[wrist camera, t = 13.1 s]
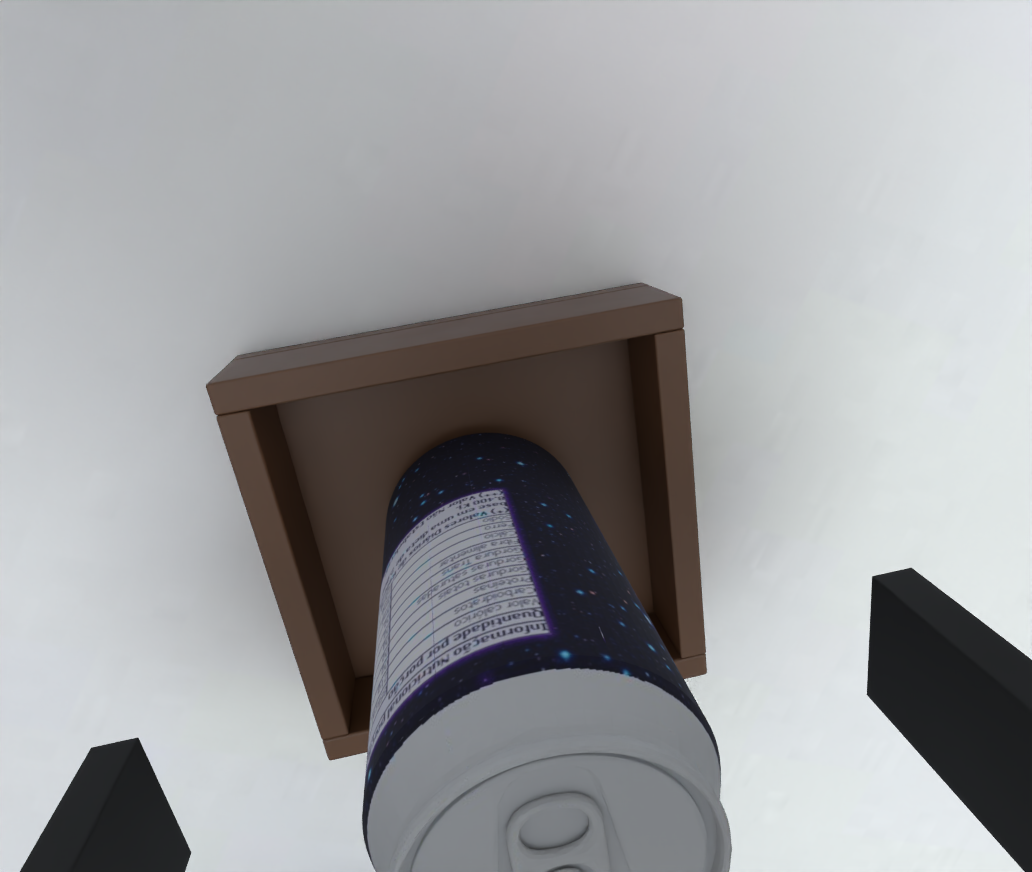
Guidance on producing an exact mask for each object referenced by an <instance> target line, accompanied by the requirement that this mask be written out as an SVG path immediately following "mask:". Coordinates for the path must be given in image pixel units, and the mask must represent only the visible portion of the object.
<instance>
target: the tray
mask: <svg viewBox="0 0 1032 872" xmlns="http://www.w3.org/2000/svg"><path fill="white" fill-rule="evenodd" d="M683 327H684V322H683V307H682V299H681V297H678V296H675V295H673V294H670V293H667V292H665V291H662V290H659V289H657V288H654V287H652V286H649V285H647V284H644V283H638V284H632V285H627V286H621V287H615V288H610V289H604V290H599V291H593V292H588V293H582V294H577V295H571V296H565V297H560V298H554V299H549V300H543V301H538V302H532V303H527V304H521V305H516V306H510V307H504V308H499V309H493V310H488V311H482V312H477V313H471V314H466V315H460V316H454V317H449V318H443V319H438V320H432V321H427V322H421V323H416V324H410V325H405V326H399V327H393V328H388V329H382V330H377V331H371V332H366V333H360V334H355V335H349V336H343V337H338V338H332V339H327V340H321V341H316V342H310V343H305V344H299V345H293V346H288V347H282V348H277V349H271V350H266V351H260V352H255V353H249V354H244V355H238V356H237V357H236V358H235V359H233V361H232V362H230V363H229V364H228V365H227V366H226V367H225V368H224V369H223V370H222V371H221V372H219V373H218V374H217V375H216V376H215V377H214V378H213V379H212V380H211V381H210V382H209V383H207V384H206V388H207V391H208V394H209V397H210V400H211V403H212V406H213V410H214V413H215V414H216V415H218V416H217V422H218V425H219V428H220V431H221V434H222V437H223V440H224V443H225V446H226V449H227V452H228V455H229V458H230V461H231V464H232V467H233V470H234V473H235V476H236V479H237V482H238V486H239V489H240V492H241V495H242V498H243V501H244V504H245V507H246V510H247V513H248V516H249V519H250V522H251V525H252V528H253V531H254V534H255V537H256V540H257V543H258V546H259V549H260V552H261V555H262V559H263V562H264V565H265V568H266V571H267V574H268V577H269V580H270V583H271V586H272V589H273V592H274V595H275V598H276V601H277V604H278V607H279V610H280V613H281V616H282V619H283V622H284V625H285V628H286V631H287V635H288V638H289V641H290V644H291V647H292V650H293V653H294V656H295V659H296V662H297V665H298V668H299V671H300V674H301V677H302V680H303V683H304V686H305V689H306V692H307V695H308V698H309V701H310V704H311V708H312V711H313V714H314V717H315V720H316V723H317V726H318V729H319V732H320V735H321V738H322V739H323V743H324V746H325V750H326V753H327V756H328V758H329V760H335V759H339V758H343V757H348V756H352V755H356V754H361V753H365V752H368V739H369V727H370V714H371V702H372V690H373V677H374V665H375V653H376V640H377V628H378V616H379V603H380V591H381V579H382V566H383V554H384V542H385V529H386V517H387V511H388V506H389V502H390V499H391V496H392V494H393V492H394V489H395V487H396V486H397V484H398V482H399V480H400V479H401V477H402V476H403V475H404V473H405V472H406V471H407V470H408V468H409V467H410V466H411V465H412V464H413V463H414V462H415V461H416V460H417V459H419V458H420V457H421V456H422V455H424V454H425V453H426V452H428V451H429V450H431V449H432V448H434V447H436V446H438V445H440V444H442V443H444V442H446V441H448V440H451V439H454V438H457V437H460V436H465V435H469V434H476V433H502V434H508V435H513V436H517V437H520V438H523V439H526V440H528V441H531V442H533V443H535V444H537V445H538V446H540V447H542V448H543V449H545V450H546V451H548V452H549V453H550V454H551V455H553V456H554V457H555V458H556V459H557V460H558V461H559V462H560V463H561V464H562V466H563V467H564V468H565V469H566V471H567V472H568V474H569V475H570V477H571V479H572V481H573V483H574V484H575V486H576V488H577V490H578V491H579V493H580V495H581V497H582V499H583V500H584V502H585V504H586V506H587V508H588V509H589V511H590V513H591V515H592V516H593V518H594V520H595V522H596V524H597V525H598V527H599V529H600V531H601V533H602V534H603V536H604V538H605V540H606V541H607V543H608V545H609V547H610V549H611V550H612V552H613V554H614V556H615V558H616V559H617V561H618V563H619V565H620V566H621V568H622V570H623V572H624V574H625V575H626V577H627V579H628V581H629V583H630V584H631V586H632V588H633V590H634V591H635V593H636V595H637V597H638V599H639V600H640V602H641V604H642V606H643V607H644V609H645V611H646V613H647V615H648V616H649V618H650V620H651V622H652V624H653V625H654V627H655V629H656V631H657V632H658V634H659V636H660V638H661V640H662V641H663V643H664V645H665V647H666V649H667V650H668V652H669V654H670V656H671V657H672V659H673V661H674V663H675V665H676V666H677V668H678V670H679V672H680V674H681V675H682V677H683V679H686V678H691V677H695V676H700V675H704V674H706V673H707V668H706V654H705V653H706V647H705V632H704V617H703V602H702V587H701V572H700V557H699V543H698V528H697V513H696V498H695V483H694V468H693V453H692V438H691V423H690V408H689V393H688V378H687V363H686V348H685V333H684V329H682V328H683Z"/></svg>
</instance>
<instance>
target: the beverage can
mask: <svg viewBox="0 0 1032 872" xmlns="http://www.w3.org/2000/svg"><path fill="white" fill-rule="evenodd" d="M720 788H721V767H720V757H719V751H718V747H717V743H716V740H715V737H714V734H713V732H712V730H711V727H710V725H709V724H708V722H707V720H706V718H705V716H704V715H703V713H702V711H701V709H700V707H699V706H698V704H697V702H696V700H695V699H694V697H693V695H692V693H691V691H690V690H689V688H688V686H687V684H686V682H685V681H684V679H683V677H682V675H681V674H680V672H679V670H678V668H677V666H676V665H675V663H674V661H673V659H672V657H671V656H670V654H669V652H668V650H667V649H666V647H665V645H664V643H663V641H662V640H661V638H660V636H659V634H658V632H657V631H656V629H655V627H654V625H653V624H652V622H651V620H650V618H649V616H648V615H647V613H646V611H645V609H644V607H643V606H642V604H641V602H640V600H639V599H638V597H637V595H636V593H635V591H634V590H633V588H632V586H631V584H630V583H629V581H628V579H627V577H626V575H625V574H624V572H623V570H622V568H621V566H620V565H619V563H618V561H617V559H616V558H615V556H614V554H613V552H612V550H611V549H610V547H609V545H608V543H607V541H606V540H605V538H604V536H603V534H602V533H601V531H600V529H599V527H598V525H597V524H596V522H595V520H594V518H593V516H592V515H591V513H590V511H589V509H588V508H587V506H586V504H585V502H584V500H583V499H582V497H581V495H580V493H579V491H578V490H577V488H576V486H575V484H574V483H573V481H572V479H571V477H570V475H569V474H568V472H567V471H566V469H565V468H564V467H563V466H562V464H561V463H560V462H559V461H558V460H557V459H556V458H555V457H554V456H553V455H551V454H550V453H549V452H548V451H546V450H545V449H543V448H542V447H540V446H538V445H537V444H535V443H533V442H531V441H528V440H526V439H523V438H520V437H517V436H513V435H508V434H502V433H476V434H469V435H465V436H460V437H457V438H454V439H451V440H448V441H446V442H444V443H442V444H440V445H438V446H436V447H434V448H432V449H431V450H429V451H428V452H426V453H425V454H424V455H422V456H421V457H420V458H419V459H417V460H416V461H415V462H414V463H413V464H412V465H411V466H410V467H409V468H408V470H407V471H406V472H405V473H404V475H403V476H402V477H401V479H400V480H399V482H398V484H397V486H396V487H395V489H394V492H393V494H392V496H391V499H390V502H389V506H388V511H387V517H386V529H385V542H384V554H383V566H382V579H381V591H380V603H379V616H378V628H377V640H376V653H375V665H374V677H373V690H372V702H371V714H370V727H369V739H368V752H367V764H366V776H365V789H364V801H363V814H362V825H363V835H364V841H365V845H366V849H367V852H368V854H369V857H370V860H371V862H372V864H373V867H374V869H375V871H376V872H729V869H730V861H731V852H732V846H731V836H730V828H729V823H728V819H727V816H726V813H725V811H724V808H723V806H722V804H721V802H720Z"/></svg>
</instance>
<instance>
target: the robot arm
mask: <svg viewBox="0 0 1032 872" xmlns="http://www.w3.org/2000/svg"><path fill="white" fill-rule="evenodd" d="M867 695H868V696H869V698H870V699H871V700H872V701H873V702H874V703H875V704H876V705H877V707H878V708H879V709H880V710H881V711H882V712H883V713H884V714H885V716H886V717H887V718H888V719H889V720H890V721H891V722H892V723H893V725H894V726H895V727H896V728H897V729H898V730H899V731H900V732H901V733H902V735H903V736H904V737H905V738H906V739H907V740H908V741H909V742H910V744H911V745H912V746H913V747H914V748H915V749H916V750H917V751H918V753H919V754H920V755H921V756H922V757H923V758H924V759H925V760H926V762H927V763H928V764H929V765H930V766H931V767H932V768H933V769H934V771H935V772H936V773H937V774H938V775H939V776H940V777H941V778H942V779H943V781H944V782H945V783H946V784H947V785H948V786H949V787H950V788H951V790H952V791H953V792H954V793H955V794H956V795H957V796H958V797H959V799H960V800H961V801H962V802H963V803H964V804H965V805H966V806H967V808H968V809H969V810H970V811H971V812H972V813H973V814H974V815H975V817H976V818H977V819H978V820H979V821H980V822H981V823H982V824H983V825H984V827H985V828H986V829H987V830H988V831H989V832H990V833H991V834H992V836H993V837H994V838H995V839H996V840H997V841H998V842H999V843H1000V845H1001V846H1002V847H1003V848H1004V849H1005V850H1006V851H1007V852H1008V854H1009V855H1010V856H1011V857H1012V858H1013V859H1014V860H1015V861H1016V863H1017V864H1018V865H1019V866H1020V867H1021V868H1022V869H1023V870H1024V871H1025V872H1032V660H1031V659H1030V658H1029V657H1027V656H1026V655H1025V654H1023V653H1022V652H1021V651H1019V650H1018V649H1017V648H1016V647H1014V646H1013V645H1012V644H1010V643H1009V642H1008V641H1006V640H1005V639H1004V638H1002V637H1001V636H1000V635H999V634H997V633H996V632H995V631H993V630H992V629H991V628H989V627H988V626H987V625H985V624H984V623H983V622H982V621H980V620H979V619H978V618H976V617H975V616H974V615H972V614H971V613H970V612H969V611H967V610H966V609H965V608H963V607H962V606H961V605H959V604H958V603H957V602H955V601H954V600H953V599H952V598H950V597H949V596H948V595H946V594H945V593H944V592H942V591H941V590H940V589H938V588H937V587H936V586H935V585H933V584H932V583H931V582H929V581H928V580H927V579H925V578H924V577H923V576H922V575H920V574H919V573H918V572H916V571H915V570H914V569H912V568H908V569H904V570H899V571H895V572H890V573H886V574H881V575H876V576H872V594H871V616H870V638H869V660H868V682H867ZM190 855H191V851H190V849H189V847H188V844H187V842H186V840H185V838H184V836H183V834H182V831H181V829H180V827H179V825H178V823H177V821H176V818H175V816H174V814H173V812H172V810H171V808H170V805H169V803H168V801H167V799H166V797H165V795H164V792H163V790H162V788H161V786H160V784H159V782H158V779H157V777H156V775H155V773H154V771H153V769H152V766H151V764H150V762H149V760H148V758H147V756H146V753H145V751H144V749H143V747H142V745H141V743H140V740H139V738H134V739H129V740H125V741H120V742H116V743H111V744H107V745H102V746H97V747H93V748H91V749H90V751H89V753H88V754H87V756H86V758H85V760H84V761H83V763H82V765H81V767H80V768H79V770H78V772H77V774H76V775H75V777H74V779H73V780H72V782H71V784H70V786H69V787H68V789H67V791H66V793H65V794H64V796H63V798H62V800H61V801H60V803H59V805H58V806H57V808H56V810H55V812H54V813H53V815H52V817H51V819H50V820H49V822H48V824H47V826H46V827H45V829H44V831H43V832H42V834H41V836H40V838H39V839H38V841H37V843H36V845H35V846H34V848H33V850H32V852H31V853H30V855H29V857H28V858H27V860H26V862H25V864H24V865H23V867H22V869H21V871H20V872H185V870H186V867H187V864H188V861H189V858H190Z"/></svg>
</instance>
